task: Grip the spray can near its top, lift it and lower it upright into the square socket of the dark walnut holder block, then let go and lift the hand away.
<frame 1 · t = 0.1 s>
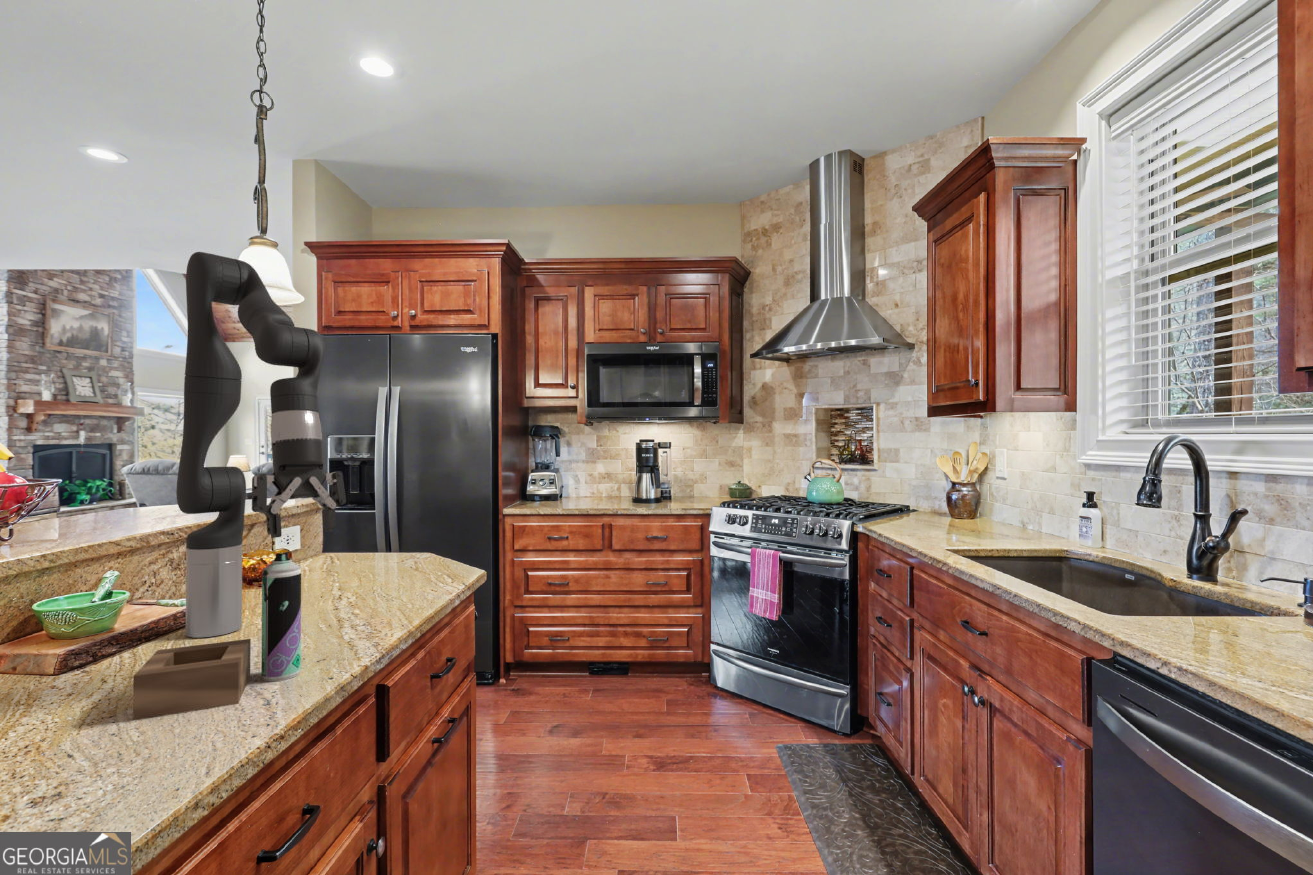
hand: (303, 534, 104), 22 cm above the table, tool pointing down, fingers open, 8 cm apart
walnut holder: (196, 695, 92), on the table
spray can: (281, 676, 100), on the table
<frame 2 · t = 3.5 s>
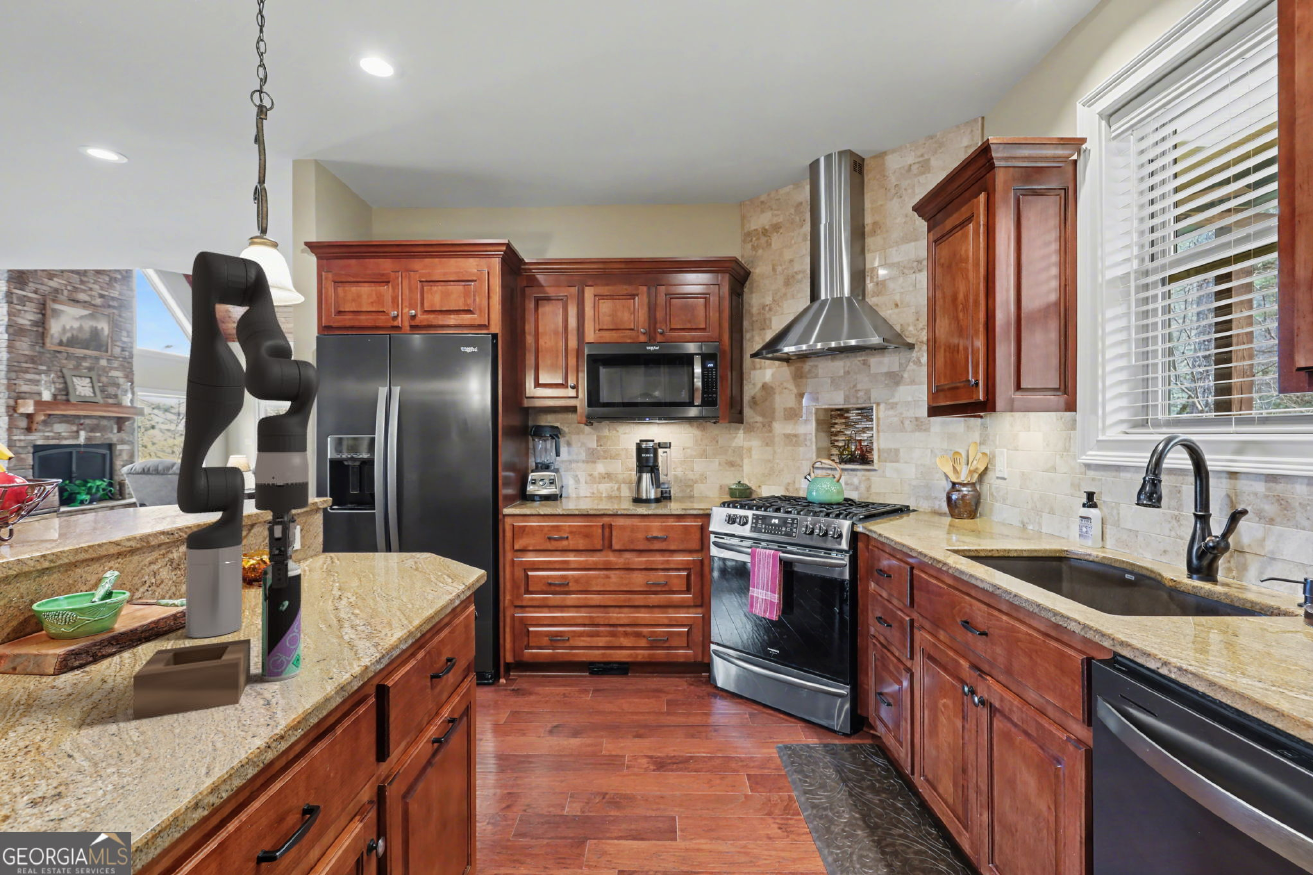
hand: (281, 582, 100), 15 cm above the table, tool pointing down, fingers closed on spray can, 5 cm apart
spray can: (281, 676, 100), on the table, touching gripper
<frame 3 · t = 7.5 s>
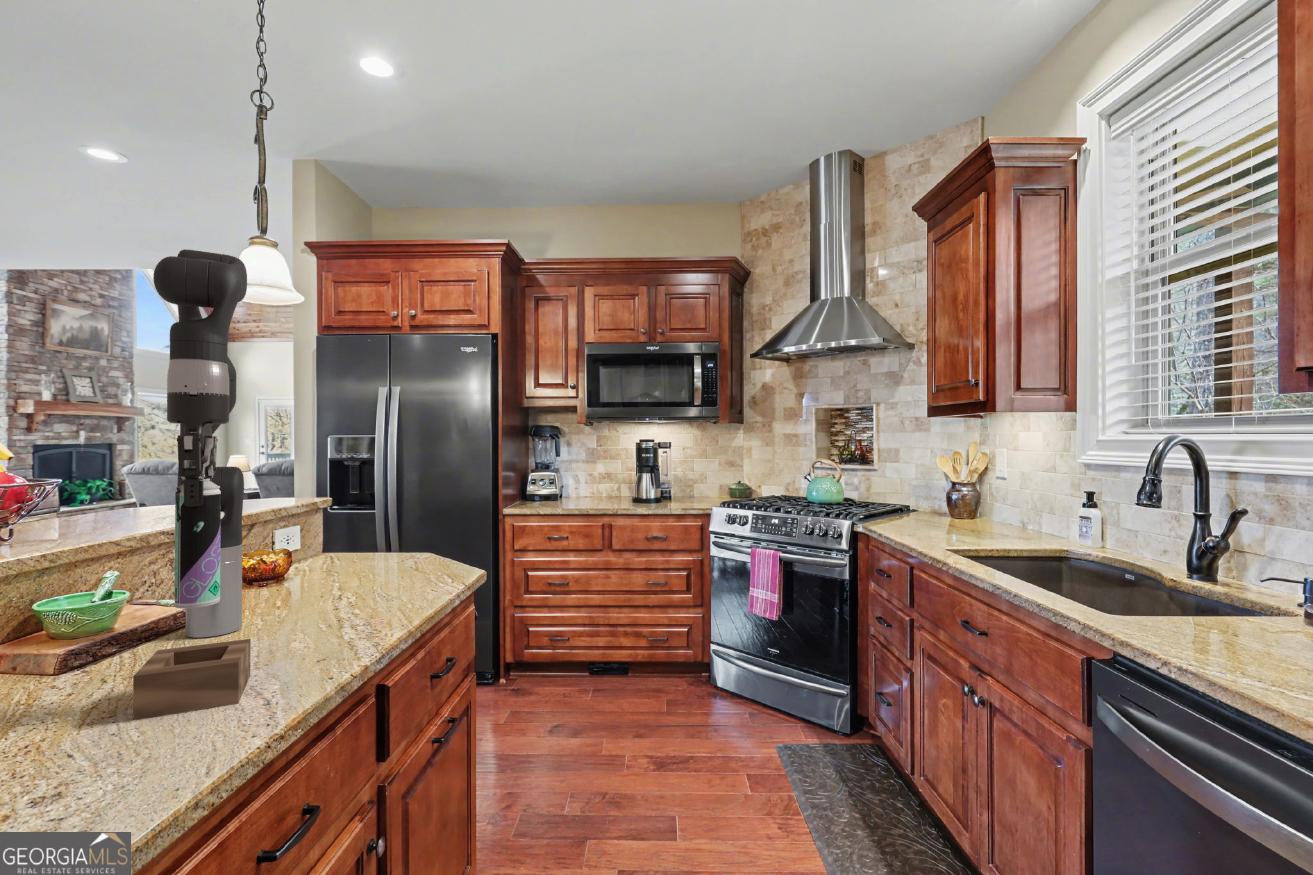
hand: (198, 503, 92), 29 cm above the table, tool pointing down, fingers closed on spray can, 5 cm apart
spray can: (197, 605, 92), point 14 cm above the table, touching gripper
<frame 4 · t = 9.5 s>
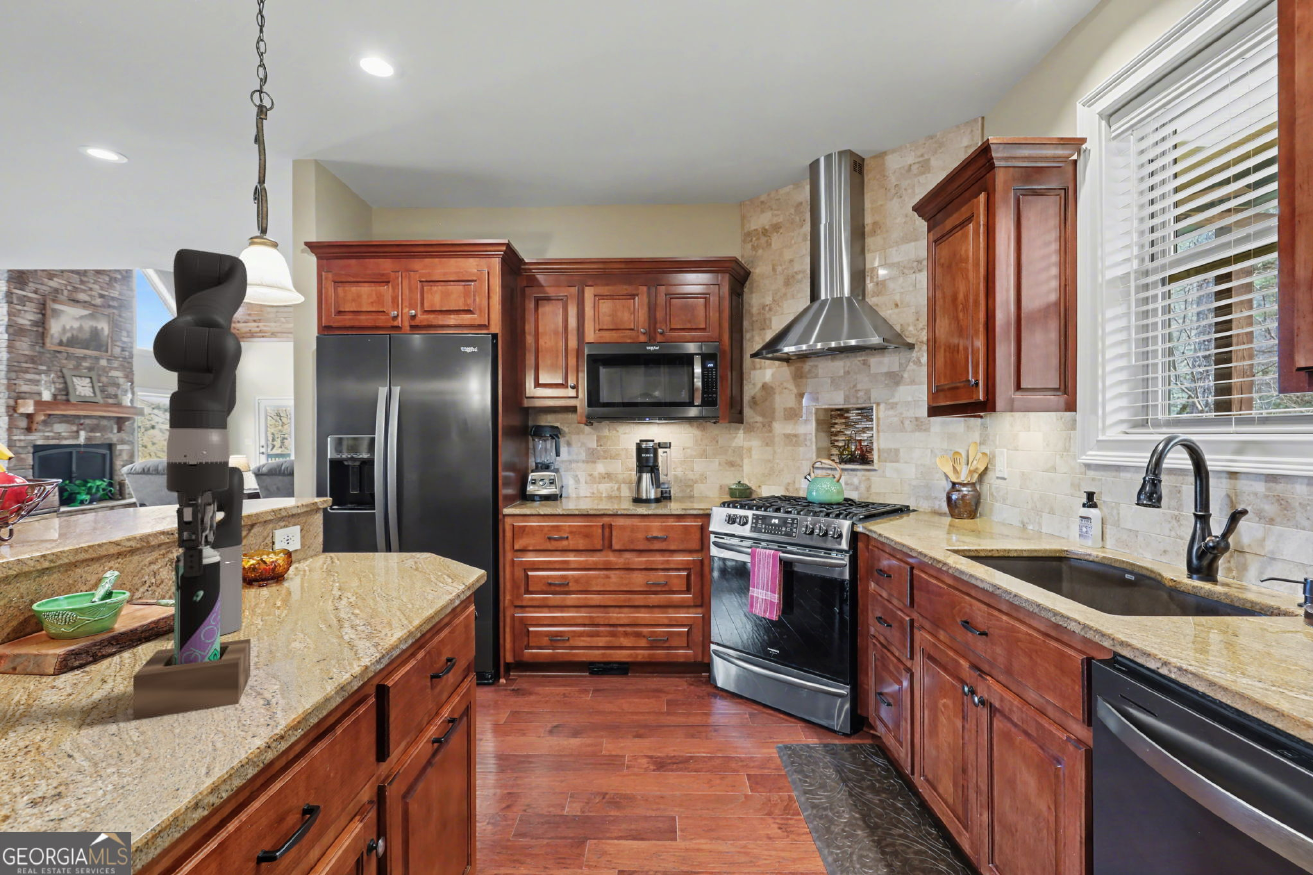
hand: (197, 571, 92), 19 cm above the table, tool pointing down, fingers closed on spray can, 5 cm apart
spray can: (197, 672, 92), point 3 cm above the table, touching gripper
when the fingers open (16 cm above the table, at t = 11.4 s): spray can drops 1 cm, resting in walnut holder.
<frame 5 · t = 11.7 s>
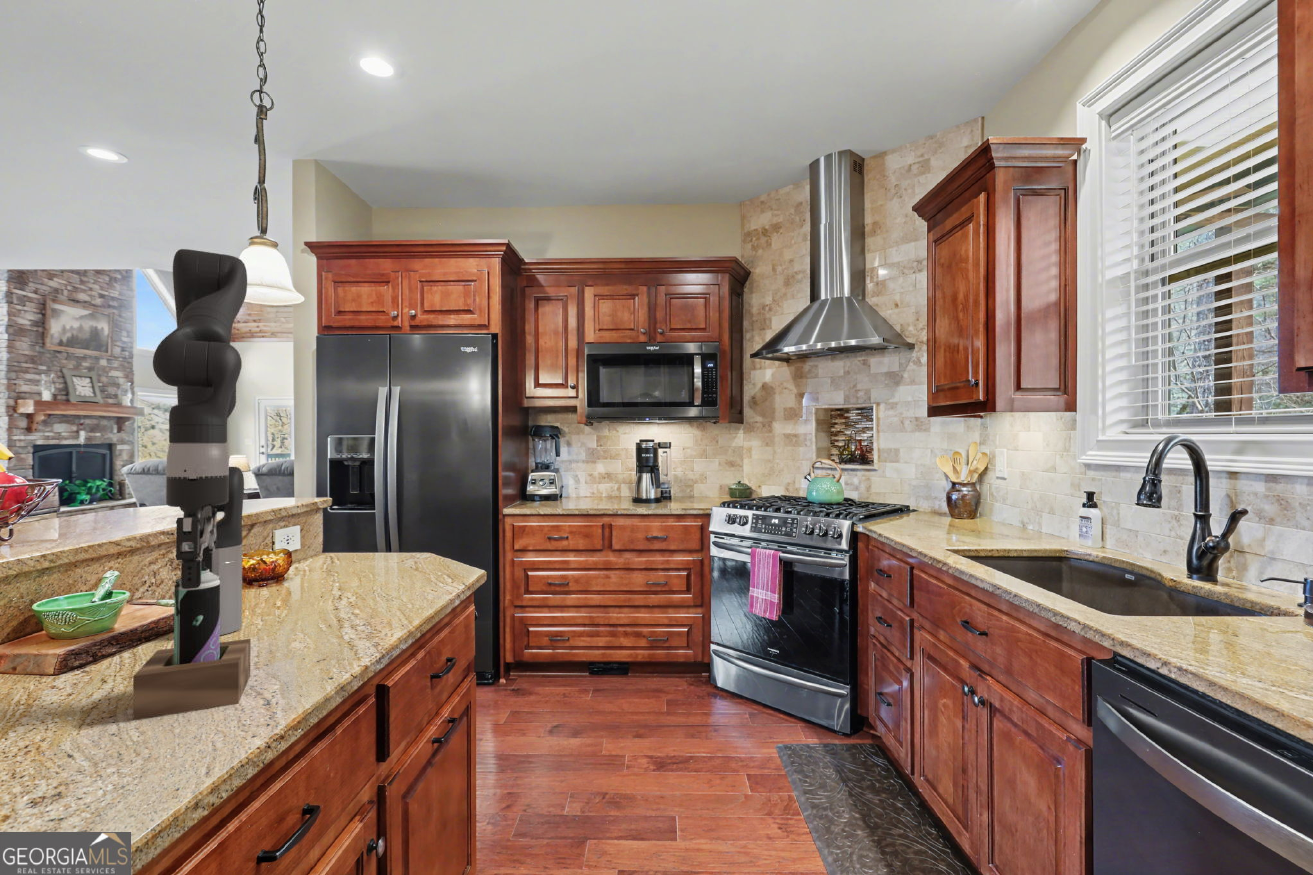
hand: (197, 582, 92), 17 cm above the table, tool pointing down, fingers open, 8 cm apart
spray can: (196, 697, 92), resting in walnut holder
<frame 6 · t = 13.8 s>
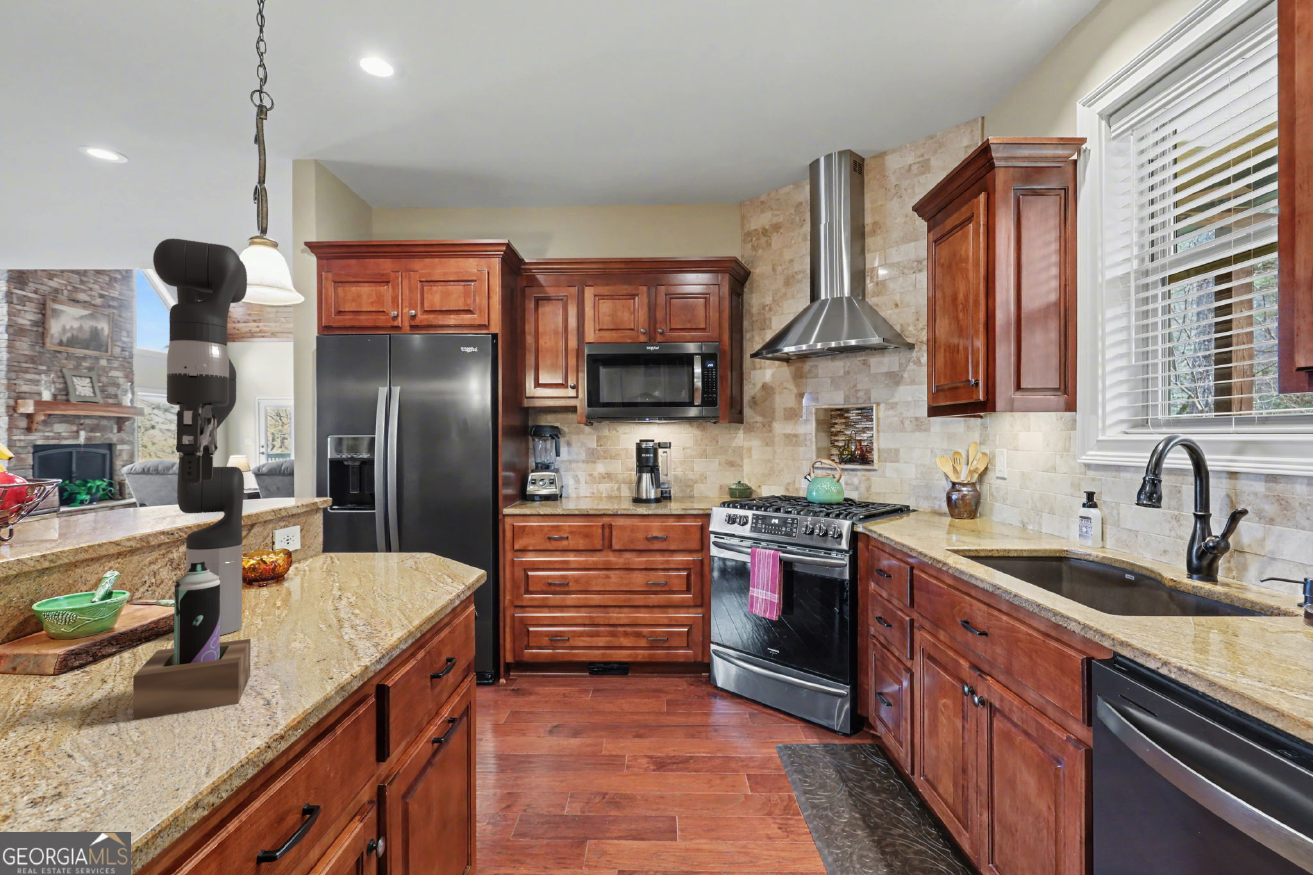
hand: (197, 481, 92), 32 cm above the table, tool pointing down, fingers open, 8 cm apart
nothing on the table moved.
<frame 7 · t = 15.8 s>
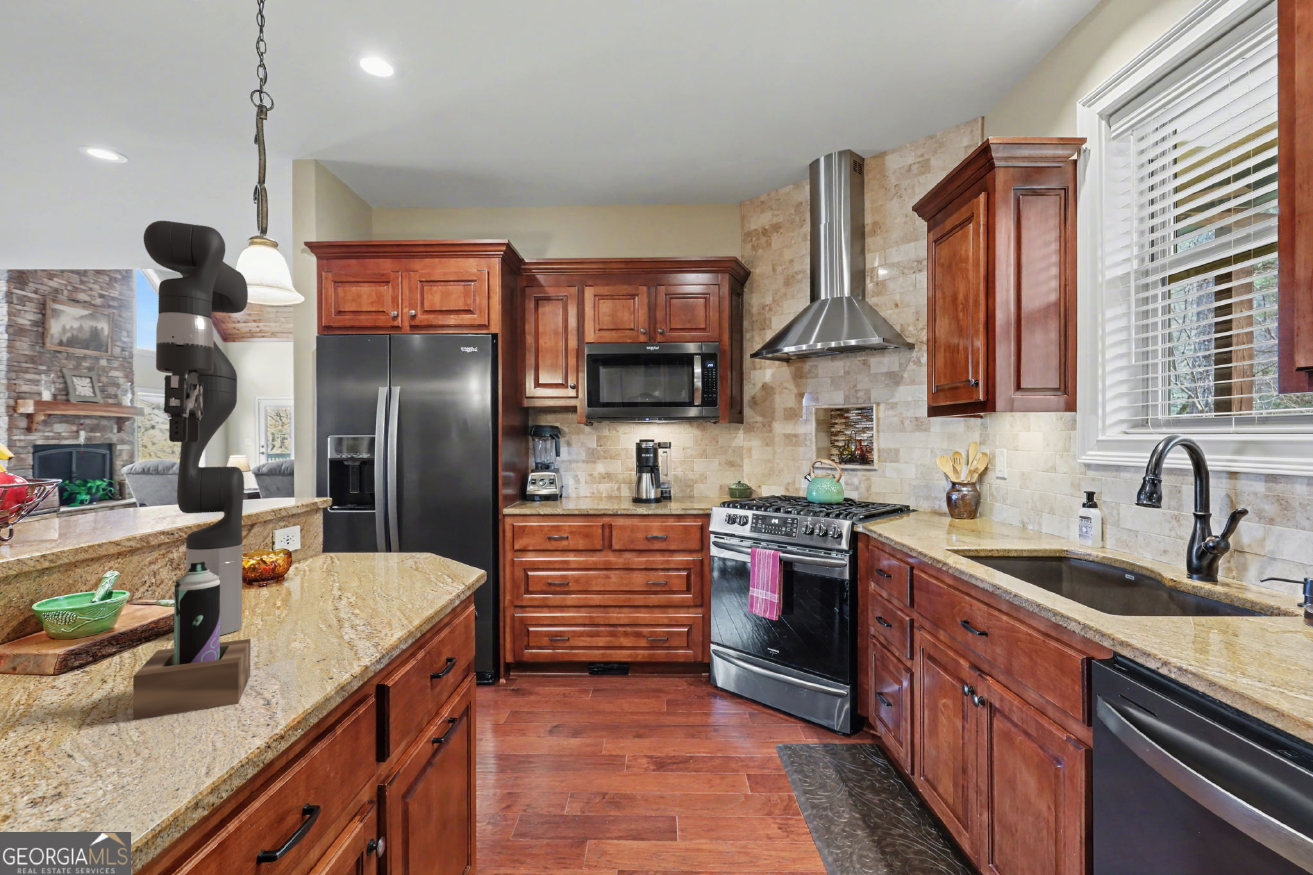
hand: (184, 442, 101), 38 cm above the table, tool pointing down, fingers open, 8 cm apart
nothing on the table moved.
at the end: spray can 0.1 cm off-centre on the walnut holder, point 0.0 cm above the walnut holder's base; spray can tilted 0°; the gripper is holding nothing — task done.
